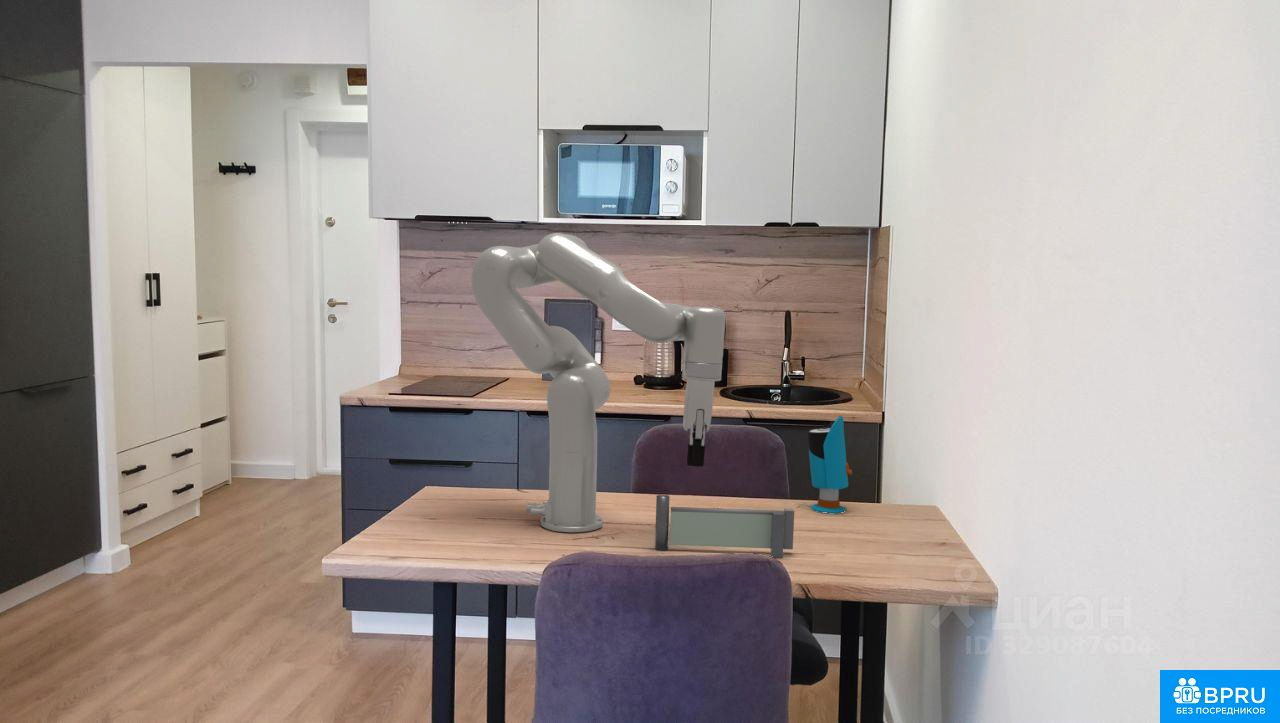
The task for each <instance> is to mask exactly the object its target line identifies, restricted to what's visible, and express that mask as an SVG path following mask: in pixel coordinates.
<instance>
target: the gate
mask: <svg viewBox="0 0 1280 723" xmlns="http://www.w3.org/2000/svg"><path fill="white" fill-rule="evenodd" d="M772 512H783V513H784V515H785V517H784V541H783V550H793V549H794V532H795V531H794V529H795V528H794V527H795V510H794V508H784V509H783V510H777V509H775V510H772V509H751V508H750V509H744V508H718V507H715V508H714V507H691V506H690V507H689V506H688V507H687V506H686V507H684V506H670V515H669V524H670V525H669V526H670V527H669V546H683V547H684V546H688V547H689V546H690V547H715V548H716V547H717V548H718V547H719V548H741V549H742V548H744V549H745V548H746V549H771V527H772Z"/></svg>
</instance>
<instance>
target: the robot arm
mask: <svg viewBox="0 0 1280 723" xmlns="http://www.w3.org/2000/svg"><path fill="white" fill-rule="evenodd" d="M556 281H558V282H560V283H561V284H563V285H565V286H567V287H568V288H570V289H572V290H574V291H575V292H576V293H578V294H579V295H581V296H582V297H584V298H586V299H587V300H589V301H590V302H592V303H593V304H595V305H596V306H597V307H598V308H599V309H601V310H602V311H603V312H605V313H606V314H607V315H609V316H610V317H611V318H612V319H614V320H615V321H616V322H618V323H619V324H621V325H622V326H623V327H625V328H627V329H628V330H630V331H632V332H634V333H635V334H637V335H638V336H640V337H641V338H643V339H645V340H647V341H649V342H651V343H654V344H665V343H670V342H678V341H679V342H680V341H684V344H683V345H684V346H683V359H682V373H681V378H682V379H685V380H687V381H686V386H685V394H684V395H685V396H684V407H683V419H682V420H683V421H682V425H683V430H685V431H686V432H688V430H689V439H688V440H689V443H688V444H687V453H686V454H687V455H686V465H687V466H689V467H703V466H705V465H704V464H705V451H706V445H705V439H706V433H708V432H710V427H711V422H712V415H713V414H712V413H713V406H714V405H713V404H714V396H715V382H720V381H722V370H723V357H724V347H725V346H724V342H725V331H726V317H727V316H726V313H725V311H724V310H723V309H722V308H718V307H712V306H711V307H710V306H692V307H691V306H687V305H682V304H678V303H671V302H662V301H660V300H658V299H657V298H654V297H653V296H652V295H650V294H648V293H647V292H645V291H644V290H642V289H640V288H639V287H638V286H636V285H635V284H633V283H632V282H630V280H628V279H627V277H626V276H625V274H624V272H623V271H622V269H621V268H620V267H619V266H618V265H616V264H615V263H613V262H611V261H610V260H608V259H606V258H604V257H602V256H601V255H600V254H598V253H597V252H594V251H593V250H591V249H590V248H589V247H588V245H587V244H586V243H585V241H584V240H582V239H581V238H580V237H577V236H576V235H573V234H567V233H562V232H554V233H550V234H547V235H545V236H544V237H543V238H541V240H540V241H539V243H537V244H532V245H528V246H522V247H518V246H517V247H515V246H509V245H497V246H496V245H495V246H491V247H488V248H487V249H485V250H484V251H482V252H481V253H480V254H479V255H478V256H477V258H476V260H475V262H474V264H473V267H472V271H471V277H470V284H471V285H470V286H471V292H472V295H473V297H474V299H475V302H476V304H477V305H478V308H479V309H480V311H481V312H482V314H484V316H485V318H486V319H487V320H488V321H489V322H490V323H491V324H492V326H493V327H494V328H495V329H496V330H497V332H498V333H499V334H500V336H501V337H502V338H503V340H504V342H506V344H507V345H508V346H509V347H510V349H511V350H512V351H513V353H514V354H515V355H516V356H517V357H518V359H519V360H520V362H521V363H522V364H523V366H524V367H525V368H526V369H527V370H528V371H530V372H532V373H534V374H538V375H545V374H550V376H551V377H552V378H553V379H552V381H550V384H549V387H548V388H547V395H546V402H547V403H546V404H547V411H548V413H547V414H548V422H549V464H548V465H549V468H548V469H549V472H548V473H549V476H548V499H547V502H542V503H534V502H532V503H531V502H527V504H526V514H530V515H531V516H532V515H533V516H534V515H535V516H536V515H539V516H540V515H542V516H541V518H540V526H541V527H543V528H544V529H546V530H549V531H553V532H558V533H559V532H560V533H584V532H591V531H596V530H599V529H600V528H602V527H603V526H604V519H603V518H602V517H601V516H599V515H597V512H596V510H597V476H598V475H597V471H598V470H597V469H598V428H597V419H596V418H597V417H596V410H598V409H601V407H602V406H604V405H605V404H606V402H607V401H608V400H609V397H610V394H611V383H610V379H609V378H608V375H607V374H606V372H605V371H604V370H603V368H602V367H601V365H600V364H599V363H598V362H597V361H596V359H595V358H594V357H593V356H592V355H591V353H590V352H589V350H587V348H586V347H585V346H584V345H583V343H582V342H581V341H580V340H579V339H578V338H577V337H576V336H575V334H573V333H572V332H571V331H570V330H568V329H566V328H564V327H562V326H557V325H549V324H548V323H546V322H545V320H543V318H542V317H541V315H539V313H538V312H536V310H535V308H534V307H533V306H532V305H531V303H529V301H528V300H527V299H526V298H524V297H523V296H522V295H521V294H520V293H519V292H518V291H517V289H525V288H530V287H536V286H539V285H543V284H548V283H553V282H556Z"/></svg>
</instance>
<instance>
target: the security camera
mask: <svg viewBox="0 0 1280 723" xmlns="http://www.w3.org/2000/svg"><path fill="white" fill-rule="evenodd" d="M844 425H845V424H844V415H840V416H838V417H837V418H836V420H835V421H834V423H833V424H832V425H831V426H830V427H829V426H828V427H825V426H823V427H817V428H811V429H809V430H808V431H807V440H808V454H809V455H808V456H809V457H808V458H809V466H810V476H811V485H812V487H814V488H816V489H819V497H817V503H816V504H815V503H814V504H811V507H810V509H811V508H812V509H813V510H815V511H818V512H817V513H819V512H827V513H841V512H844V511H847V509H846V507H845V506H843V505H841V504H840V503H841V499H840V498H839V496H840V495H839V493H840V492H839V491H840V490H842V489H845V488H848V487H849V478H848V476H852V475H853V471H852V469H850V466H849V462H847V453H846V451H847V450H846V441H845V429H844V427H845V426H844ZM812 509H811V510H812ZM813 510H812V511H813ZM815 511H814V512H815Z"/></svg>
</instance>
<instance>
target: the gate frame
mask: <svg viewBox="0 0 1280 723" xmlns="http://www.w3.org/2000/svg"><path fill="white" fill-rule="evenodd" d="M655 498H656V501H655V502H656V503H655V505H656V506H655V509H656V510H655V532H654V533H655V536H654V537H655V540H654V550H655V551H658V552H665V551H668V550H669V531H670V527H669V526H670V525H669V524H670V498H671V497H670V495H668V494H657V495H656V497H655ZM784 517H785V515H784V513H783V512H772V527H771V548H770V557H771V556H773V557H775V558H774V559H784V549H783V541H784Z"/></svg>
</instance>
